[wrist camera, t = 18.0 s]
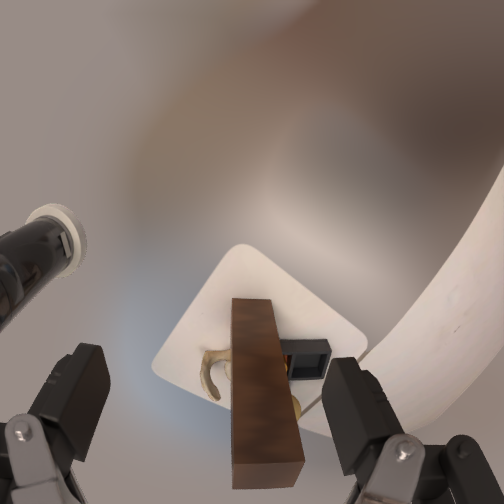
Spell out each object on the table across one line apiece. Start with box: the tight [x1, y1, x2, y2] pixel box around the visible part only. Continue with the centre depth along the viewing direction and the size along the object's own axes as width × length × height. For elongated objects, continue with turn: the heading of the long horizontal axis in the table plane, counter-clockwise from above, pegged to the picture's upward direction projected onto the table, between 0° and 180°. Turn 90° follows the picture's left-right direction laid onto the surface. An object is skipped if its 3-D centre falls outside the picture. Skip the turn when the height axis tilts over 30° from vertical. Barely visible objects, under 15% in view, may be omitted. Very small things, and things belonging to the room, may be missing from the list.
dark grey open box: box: [280, 339, 332, 381], centre depth 46 cm, size 12×6×3 cm, turn 86°
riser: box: [231, 298, 305, 489], centre depth 32 cm, size 6×6×26 cm
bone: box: [200, 349, 231, 401], centre depth 43 cm, size 9×6×10 cm
